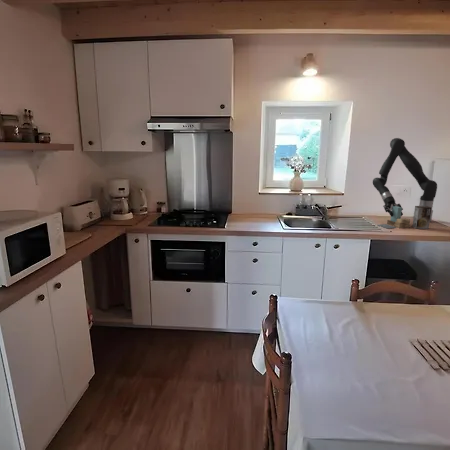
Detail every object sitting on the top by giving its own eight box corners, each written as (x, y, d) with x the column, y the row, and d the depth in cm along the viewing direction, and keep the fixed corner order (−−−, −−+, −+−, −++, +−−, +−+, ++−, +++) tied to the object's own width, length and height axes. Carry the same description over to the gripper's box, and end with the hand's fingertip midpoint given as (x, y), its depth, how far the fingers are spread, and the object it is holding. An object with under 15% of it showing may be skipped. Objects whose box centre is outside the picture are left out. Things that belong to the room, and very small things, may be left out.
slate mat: (386, 225, 249) (386, 224, 249) (396, 228, 240) (396, 227, 240) (377, 225, 247) (377, 224, 247) (387, 228, 238) (387, 227, 238)
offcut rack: (396, 223, 255) (397, 215, 254) (409, 227, 243) (411, 219, 241) (385, 223, 252) (386, 216, 251) (398, 228, 240) (400, 220, 238)
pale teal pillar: (393, 223, 253) (395, 206, 250) (399, 225, 248) (402, 207, 244) (389, 224, 252) (392, 206, 249) (395, 225, 247) (398, 207, 244)
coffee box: (424, 227, 244) (427, 205, 240) (428, 229, 237) (432, 207, 233) (411, 226, 244) (414, 205, 241) (415, 228, 238) (418, 207, 234)
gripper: (383, 196, 250) (392, 213, 242) (398, 195, 254) (408, 212, 246) (377, 201, 256) (386, 218, 248) (392, 201, 260) (401, 217, 252)
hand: (397, 215), depth 247 cm, fingers open, 8 cm apart
